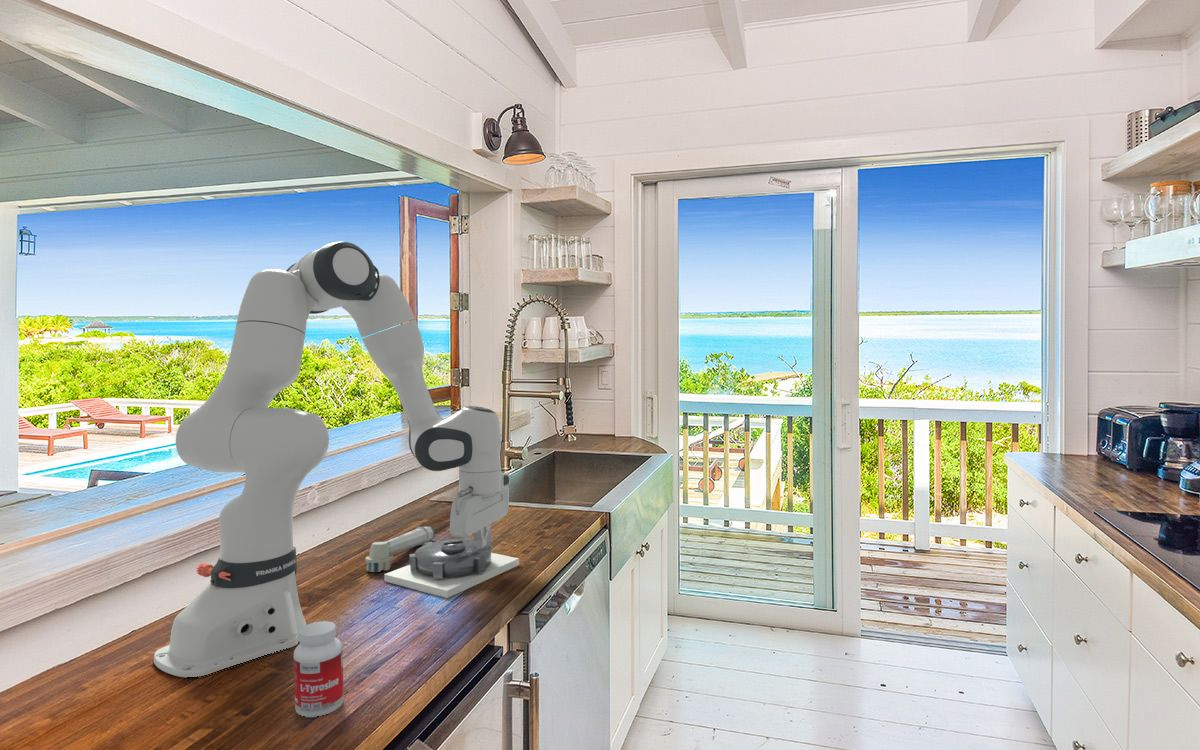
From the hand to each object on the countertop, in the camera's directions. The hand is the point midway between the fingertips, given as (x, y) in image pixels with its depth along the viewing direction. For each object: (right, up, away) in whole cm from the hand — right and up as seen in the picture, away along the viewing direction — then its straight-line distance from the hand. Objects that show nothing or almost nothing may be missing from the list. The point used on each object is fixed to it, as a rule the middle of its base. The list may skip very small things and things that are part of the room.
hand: (480, 547), depth 142 cm
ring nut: (-7, -4, +1) cm, 8 cm away
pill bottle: (-13, -9, -51) cm, 53 cm away
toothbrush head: (-21, -6, +14) cm, 26 cm away
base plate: (-6, -6, +2) cm, 9 cm away
